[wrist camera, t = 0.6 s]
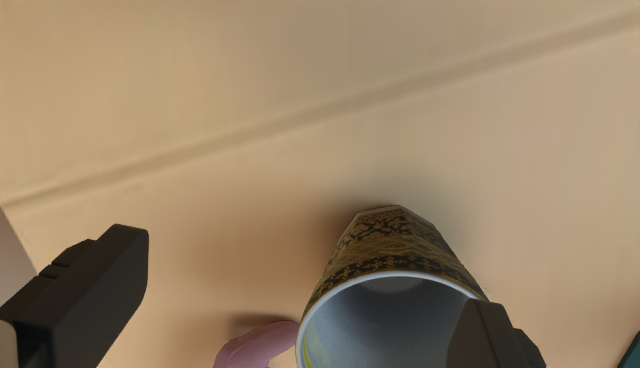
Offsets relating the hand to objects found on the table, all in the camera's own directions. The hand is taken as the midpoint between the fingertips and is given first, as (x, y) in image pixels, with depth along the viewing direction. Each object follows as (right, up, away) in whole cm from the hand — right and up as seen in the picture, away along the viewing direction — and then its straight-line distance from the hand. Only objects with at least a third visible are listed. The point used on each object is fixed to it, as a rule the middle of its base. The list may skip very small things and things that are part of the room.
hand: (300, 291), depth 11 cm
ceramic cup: (+6, -2, +20) cm, 21 cm away
